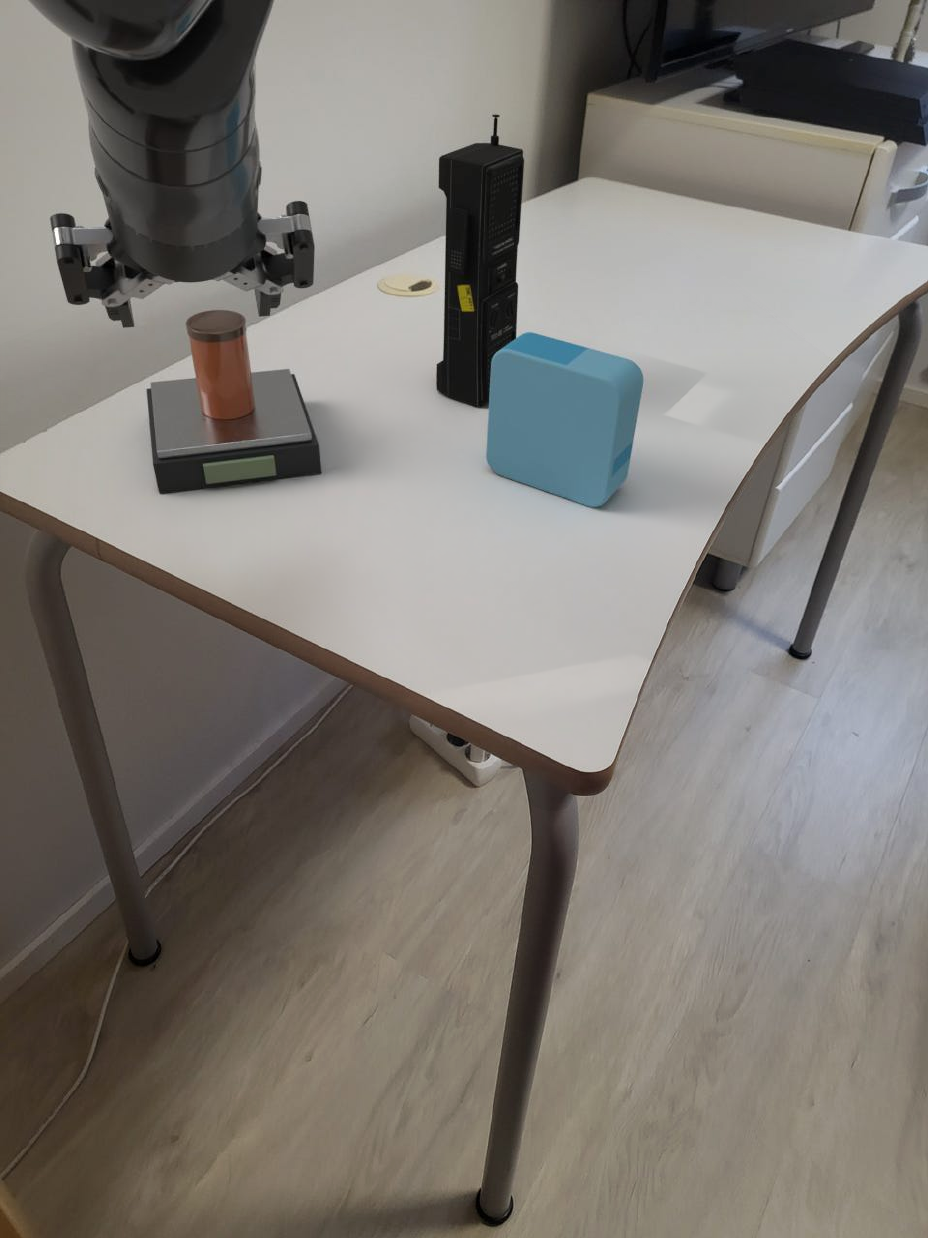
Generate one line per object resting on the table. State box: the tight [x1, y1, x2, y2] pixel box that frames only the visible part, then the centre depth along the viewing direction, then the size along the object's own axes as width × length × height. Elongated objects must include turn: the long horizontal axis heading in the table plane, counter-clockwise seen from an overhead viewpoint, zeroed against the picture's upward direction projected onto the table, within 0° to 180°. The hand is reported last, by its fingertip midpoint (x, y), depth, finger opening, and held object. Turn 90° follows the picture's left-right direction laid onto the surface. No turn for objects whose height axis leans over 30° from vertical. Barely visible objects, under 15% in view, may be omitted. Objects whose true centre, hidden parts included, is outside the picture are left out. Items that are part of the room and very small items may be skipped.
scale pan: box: [150, 368, 312, 459], centre depth 85 cm, size 13×13×1 cm
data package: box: [485, 331, 644, 508], centre depth 80 cm, size 12×4×12 cm, turn 58°
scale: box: [146, 373, 322, 495], centre depth 86 cm, size 14×14×3 cm
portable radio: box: [435, 114, 525, 408], centre depth 88 cm, size 8×6×25 cm
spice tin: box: [185, 309, 255, 419], centre depth 82 cm, size 5×5×8 cm
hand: (195, 307), depth 61 cm, fingers open, 8 cm apart
